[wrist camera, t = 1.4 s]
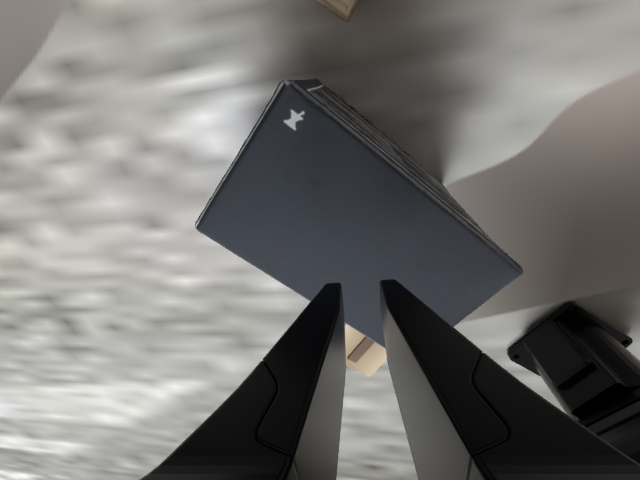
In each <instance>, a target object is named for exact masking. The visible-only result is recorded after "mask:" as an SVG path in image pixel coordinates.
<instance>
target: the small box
mask: <svg viewBox="0 0 640 480" xmlns="http://www.w3.org/2000/svg"><path fill="white" fill-rule="evenodd" d="M195 228H196V229H197V230H198V231H199V232H201V233H202V234H204V235H206V236H207V237H209V238H210V239H212V240H214V241H215V242H217V243H219V244H220V245H222V246H223V247H225V248H226V249H228V250H229V251H231V252H233V253H234V254H236V255H237V256H239V257H241V258H242V259H244V260H245V261H247V262H249V263H250V264H252V265H254V266H255V267H257V268H258V269H260V270H262V271H263V272H265V273H266V274H268V275H270V276H271V277H273V278H274V279H276V280H278V281H279V282H281V283H282V284H284V285H285V286H287V287H289V288H290V289H292V290H293V291H295V292H297V293H298V294H300V295H301V296H303V297H305V298H306V299H308V300H309V301H312V300H313V299H314V297H315V296H316V295H317V294H318V293H319V291H320V290H321V289H322V288H323V287H324V285H325V284H327V283H341V286H342V295H343V305H344V321H345V323H346V324H347V325H349V326H350V327H352V328H354V329H355V330H357V331H358V332H360V333H361V334H363V335H365V336H366V337H368V338H369V339H371V340H372V341H374V342H376V343H377V344H379V345H380V346H382V347H383V348H385V349H386V347H385V340H384V332H383V325H382V317H381V308H380V281H381V280H388V279H395V280H397V281H398V282H399V283H400V284H402V285H403V286H404V287H405V288H406V289H408V290H409V291H410V292H411V293H412V294H414V295H415V296H416V297H417V298H419V299H420V300H421V301H422V302H423V303H425V304H426V305H427V306H428V307H429V308H431V309H432V310H433V311H434V312H435V313H437V314H438V315H439V316H440V317H442V318H443V319H444V320H445V321H446V322H448V323H449V324H450V325H451V326H452V327H454V326H455V325H457V324H458V323H459V322H460V321H461V320H463V319H464V318H465V317H466V316H467V315H469V314H470V313H472V312H473V311H474V310H476V309H477V308H478V307H479V306H481V305H482V304H483V303H485V302H486V301H487V300H489V299H490V298H491V297H492V296H494V295H495V294H496V293H497V292H499V291H500V290H501V289H503V288H504V287H505V286H506V285H508V284H509V283H510V282H511V281H513V280H514V279H516V278H517V277H519V276H520V275H521V274H522V273H523V269H522V268H521V267H520V265H519V264H518V263H517V262H515V261H514V260H513V259H512V258H511V257H509V256H508V254H507V253H505V252H504V251H503V250H502V249H501V248H500V247H499V246H498V245H497V244H496V243H495V242H494V241H493V240H492V239H491V238H490V237H489V236H488V235H487V234H486V233H485V232H484V231H483V230H482V229H481V228H480V227H479V226H478V224H476V222H475V221H474V220H473V219H472V218H471V217H470V216H469V215H468V214H467V213H466V212H465V210H464V209H463V208H462V207H461V206H460V205H459V204H458V203H457V202H456V200H455V199H454V198H453V197H452V196H451V195H450V194H449V192H448V191H447V190H446V188H445V187H444V186H443V184H442V183H440V182H439V181H438V180H437V179H435V178H434V177H433V176H432V175H431V174H430V173H429V172H428V171H426V170H425V169H424V168H423V167H422V166H420V165H419V164H418V163H417V162H415V161H414V160H413V159H412V158H411V157H410V156H409V155H407V154H406V152H405V151H403V150H401V149H400V148H399V147H398V146H396V145H395V144H394V143H393V142H392V141H391V140H390V139H388V138H387V137H386V136H385V135H384V134H382V133H381V132H380V131H379V130H378V129H376V128H375V127H374V126H373V124H372V123H371V122H369V121H368V120H367V119H365V118H364V117H363V116H361V115H360V114H359V113H358V112H357V111H356V110H355V109H354V108H353V107H351V106H349V105H348V104H347V103H346V102H345V101H343V100H342V99H341V98H339V97H338V96H337V95H336V94H334V93H333V92H332V91H331V90H329V89H328V88H327V87H326V86H324V85H323V84H322V83H321V82H320V81H319V80H318V79H311V80H310V79H309V80H295V81H292V80H284V81H281V82H280V83H279V85H278V87H277V89H276V91H275V93H274V95H273V96H272V98H271V100H270V101H269V103H268V104H267V106H266V108H265V110H264V111H263V113H262V115H261V116H260V118H259V120H258V121H257V123H256V125H255V126H254V128H253V129H252V131H251V133H250V134H249V136H248V137H247V139H246V141H245V142H244V144H243V145H242V147H241V149H240V151H239V153H238V154H237V156H236V158H235V159H234V161H233V162H232V164H231V166H230V167H229V169H228V170H227V173H226V174H225V175H224V177H223V178H222V180H221V182H220V183H219V185H218V186H217V188H216V190H215V192H214V194H213V196H212V197H211V198H210V199H209V201H208V203H207V205H206V207H205V209H204V210H203V211H202V213H201V214H200V216H199V218H198V220H197V221H196V224H195Z"/></svg>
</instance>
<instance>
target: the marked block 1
mask: <svg viewBox="0 0 640 480" xmlns="http://www.w3.org/2000/svg"><path fill="white" fill-rule="evenodd" d="M316 1H318V2H319V3H321V4H322V5H323V6H325V7H326V8H328V9H329V10H330V11H332V12H333V13H335V14H336V15H337V16H339V17H340V18H342V19H343V20H344V21H346V22H347V21H348V19H349V17H350V15H351V13H352V11H353V9H354V8H355V6H356V4H357V2H358V0H316Z"/></svg>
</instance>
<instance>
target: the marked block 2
mask: <svg viewBox="0 0 640 480" xmlns="http://www.w3.org/2000/svg"><path fill="white" fill-rule="evenodd" d="M345 345H346V366H348V367H350V368H352V369H354V370H356V371H358V372H360V373H362V374H364V375H366V376H368V377H370V376H371V375H372V374H373V373H374V372H375V371H376V370H377V369H378V368H379V367H380V366H381V365H382V364H383V363H384V362H385V361H386V360H387V355H386V349H385V348H383V347H382V346H380V345H379V344H377V343H376V342H374V341H372V340H371V339H369V338H368V337H366V336H365V335H363V334H361V333H360V332H358V331H357V330H355V329H354V328H352V327H350V326H349V325H347V324H346V323H345Z"/></svg>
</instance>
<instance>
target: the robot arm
mask: <svg viewBox="0 0 640 480" xmlns="http://www.w3.org/2000/svg"><path fill="white" fill-rule="evenodd" d="M380 308H381V317H382V325H383V332H384V340H385V347H386V355H387V361H388V366H389V370H390V374H391V378H392V382H393V385H394V389H395V393H396V397H397V400H398V404H399V408H400V412H401V415H402V419H403V423H404V427H405V430H406V434H407V438H408V442H409V445H410V449H411V453H412V457H413V461H414V464H415V468H416V472H417V476H418V479H419V480H640V361H639V360H638V359H637V358H636V357H635V356H634V355H633V354H631V353H630V352H629V351H628V350H627V349H626V347H628V346H629V345H630V344H631V343H632V342H633V341H632V339H631V338H630V337H629V336H628V335H627V334H625V333H623V332H622V331H620V330H619V329H617V328H615V327H614V326H612V325H611V324H609V323H607V322H606V321H604V320H603V319H601V318H599V317H598V316H596V315H595V314H593V313H591V312H590V311H588V310H587V309H585V308H583V307H582V306H580V305H579V304H577V303H575V302H568V303H566V304H565V305H563V306H562V307H561V308H560V309H559V310H557V311H556V312H555V313H554V314H552V315H551V316H550V317H549V318H548V319H546V320H545V321H544V322H543V323H542V324H540V325H539V326H538V327H537V328H535V329H534V330H533V331H532V332H531V333H529V334H528V335H527V336H526V337H525V338H523V339H522V340H521V341H520V342H518V343H517V344H516V345H515V346H514V347H512V348H511V349H510V350H509V351H508V353H507V354H508V356H509V358H510V359H511V360H512V361H514V362H515V363H517V364H519V365H521V366H523V367H525V368H526V369H528V370H530V371H532V372H534V373H535V374H537V375H539V376H541V377H542V378H543V380H544V381H545V383H546V384H547V386H548V387H549V389H550V390H551V392H552V393H553V394H554V396H555V397H556V399H557V400H558V402H559V403H560V405H561V406H562V408H563V409H564V410H565V412H566V413H567V414H565V413H564V412H563V411H561V410H560V409H558V408H557V407H555V406H554V405H552V404H551V403H550V402H548V401H547V400H545V399H544V398H543V397H541V396H540V395H538V394H537V393H536V392H534V391H533V390H531V389H530V388H529V387H527V386H526V385H524V384H523V383H522V382H520V381H519V380H518V379H516V378H515V377H514V376H513V375H511V374H510V373H509V372H508V371H506V370H505V369H504V368H502V367H501V366H500V365H499V364H497V363H496V362H495V361H494V360H493V359H491V358H490V357H489V356H488V355H486V354H485V353H482V351H481V350H480V349H479V348H478V347H477V346H475V345H474V344H473V343H472V342H471V341H469V340H468V339H467V338H466V337H465V336H463V335H462V334H461V333H460V332H458V331H457V330H456V329H455V328H454V327H452V326H451V325H450V324H449V323H448V322H446V321H445V320H444V319H443V318H442V317H440V316H439V315H438V314H437V313H435V312H434V311H433V310H432V309H431V308H429V307H428V306H427V305H426V304H425V303H423V302H422V301H421V300H420V299H419V298H417V297H416V296H415V295H414V294H412V293H411V292H410V291H409V290H408V289H406V288H405V287H404V286H403V285H402V284H400V283H399V282H398V281H397V280H395V279H388V280H381V281H380ZM572 308H573V309H572ZM570 309H571V310H570ZM345 373H346V345H345V321H344V305H343V295H342V286H341V283H327V284H325V285H324V287H323V288H322V289H321V290H320V291H319V293H318V294H317V295H316V296H315V297H314V299H313V300H312V301H311V302H310V303H309V305H308V306H307V307H306V308H305V309H304V310H303V312H302V313H301V314H300V315H299V316H298V318H297V319H296V320H295V321H294V322H293V324H292V325H291V326H290V327H289V328H288V330H287V331H286V332H285V333H284V334H283V336H282V337H281V338H280V339H279V340H278V342H277V343H276V344H275V345H274V346H273V348H272V349H271V350H270V351H269V352H268V354H267V355H266V356H265V357H264V358H263V361H261V362H260V363H259V364H258V365H257V366H256V368H255V369H254V370H253V371H252V372H251V374H250V375H249V376H248V377H247V378H246V379H245V380H244V381H243V383H242V384H241V385H240V386H239V387H238V388H237V389H236V390H235V391H234V392H233V393H232V394H231V395H230V396H229V398H228V399H227V400H226V401H225V402H224V403H223V404H222V405H221V406H220V407H219V408H218V409H217V410H216V411H215V412H214V413H213V414H212V415H211V416H209V417H208V418H207V419H206V420H205V421H204V422H203V423H202V424H201V425H200V426H199V427H198V428H197V429H196V430H195V431H194V432H193V433H192V434H191V435H190V436H189V437H188V438H187V439H186V440H185V441H184V442H183V443H182V444H181V445H180V446H179V447H178V448H177V449H176V450H175V451H174V452H173V453H172V454H171V455H169V456H168V457H167V458H166V459H165V460H164V461H163V462H162V463H161V464H160V465H159V466H157V467H156V468H155V469H154V470H152V471H151V472H150V473H149V474H147V475H146V476H144V477H143V478H141V479H140V480H336V475H337V464H338V452H339V441H340V430H341V418H342V407H343V396H344V385H345Z"/></svg>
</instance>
